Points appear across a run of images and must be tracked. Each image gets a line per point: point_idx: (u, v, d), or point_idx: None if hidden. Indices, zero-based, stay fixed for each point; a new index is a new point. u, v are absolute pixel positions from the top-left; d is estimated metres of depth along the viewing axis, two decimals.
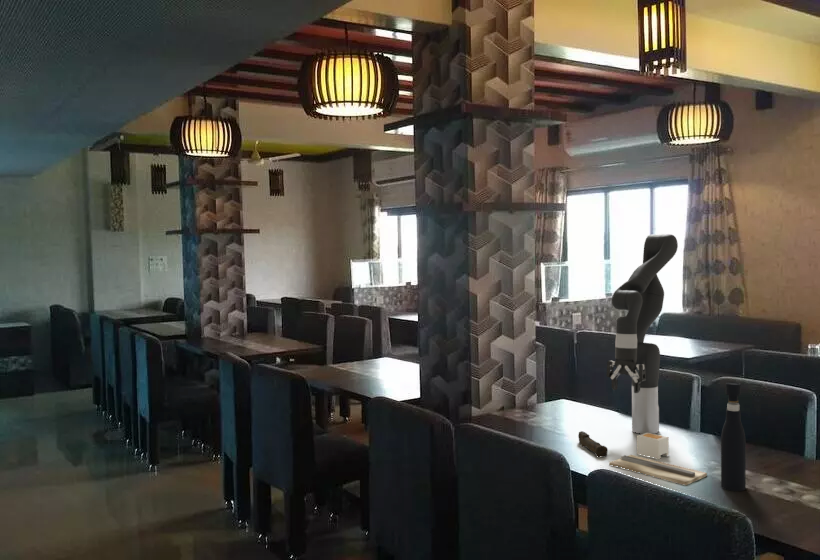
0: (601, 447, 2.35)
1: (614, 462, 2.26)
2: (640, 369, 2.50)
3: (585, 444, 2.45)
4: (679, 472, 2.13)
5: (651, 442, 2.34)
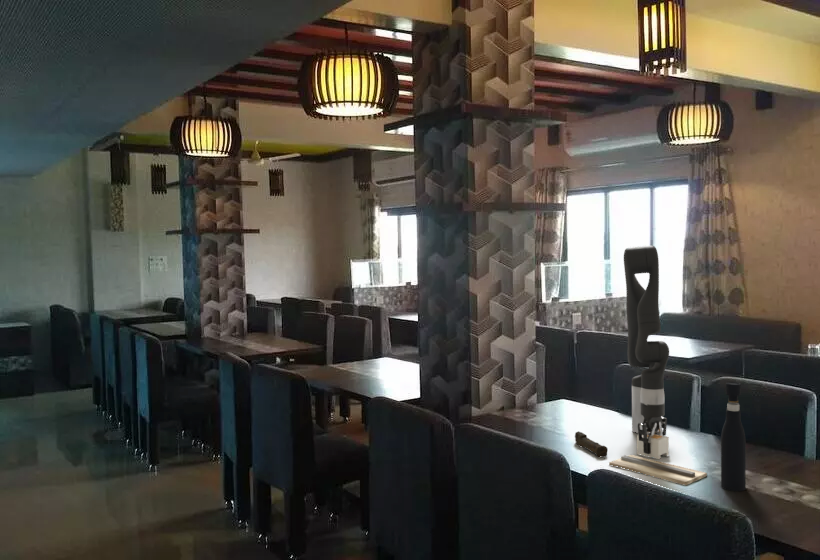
0: (601, 447, 2.35)
1: (614, 462, 2.26)
2: (665, 423, 2.39)
3: (583, 444, 2.45)
4: (679, 472, 2.13)
5: (651, 442, 2.34)
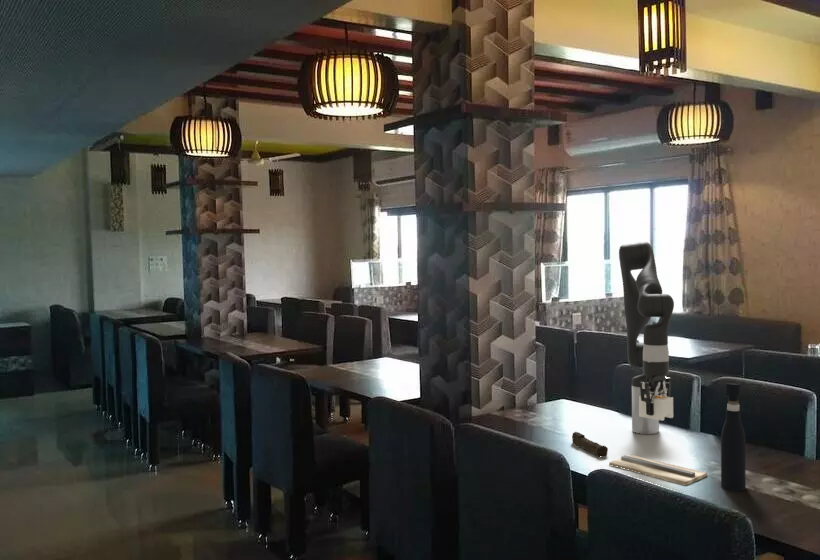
0: (602, 447, 2.35)
1: (614, 462, 2.26)
2: (670, 383, 2.22)
3: (582, 444, 2.45)
4: (679, 472, 2.13)
5: (654, 402, 2.16)
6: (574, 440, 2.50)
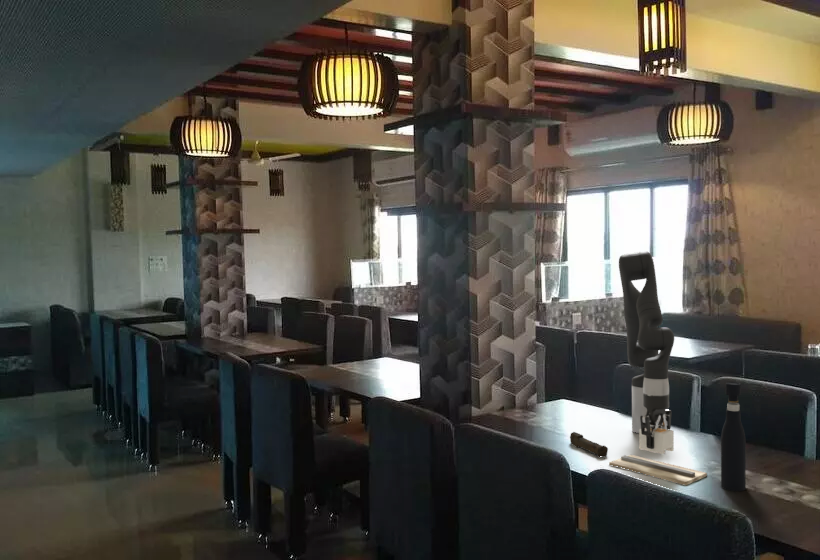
0: (602, 447, 2.35)
1: (614, 462, 2.26)
2: (670, 415, 2.22)
3: (581, 445, 2.45)
4: (679, 472, 2.13)
5: (654, 436, 2.17)
6: (572, 440, 2.50)
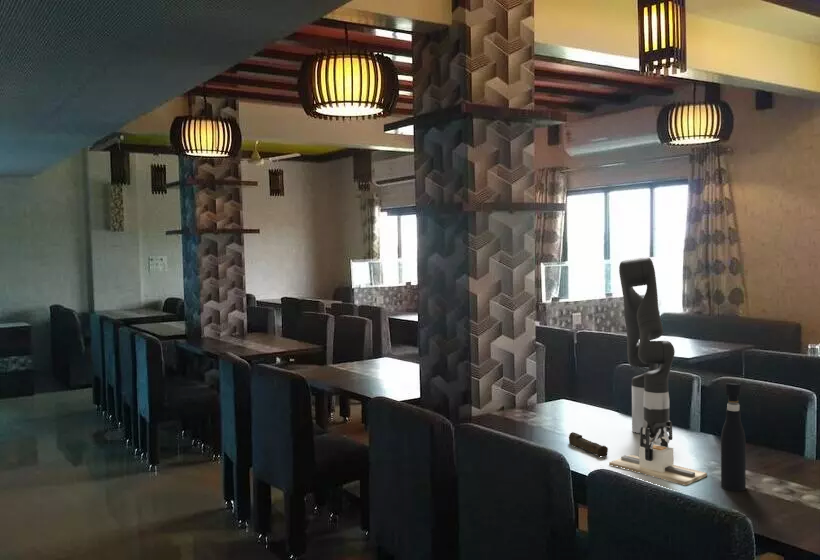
0: (602, 447, 2.35)
1: (614, 462, 2.26)
2: (671, 426, 2.23)
3: (580, 445, 2.44)
4: (679, 472, 2.13)
5: (654, 454, 2.17)
6: (571, 441, 2.50)
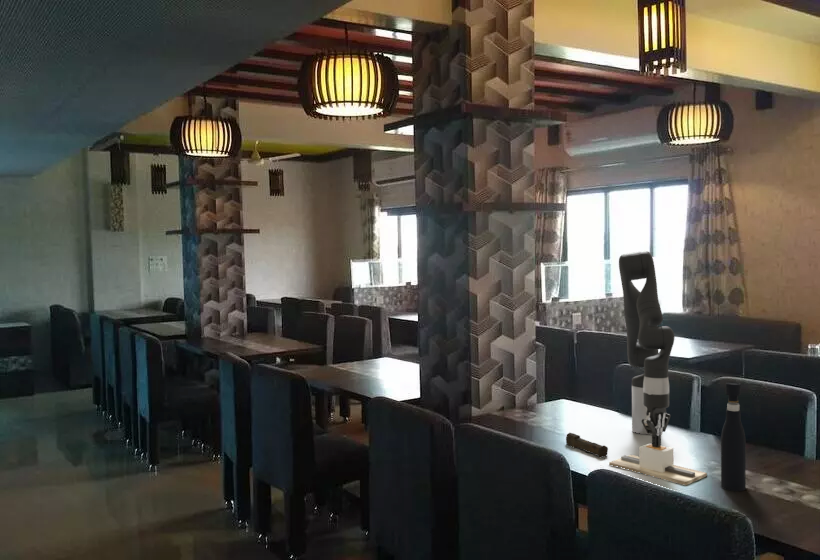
0: (603, 447, 2.35)
1: (614, 462, 2.26)
2: (668, 419, 2.22)
3: (579, 445, 2.44)
4: (679, 472, 2.13)
5: (654, 454, 2.17)
6: (569, 441, 2.49)
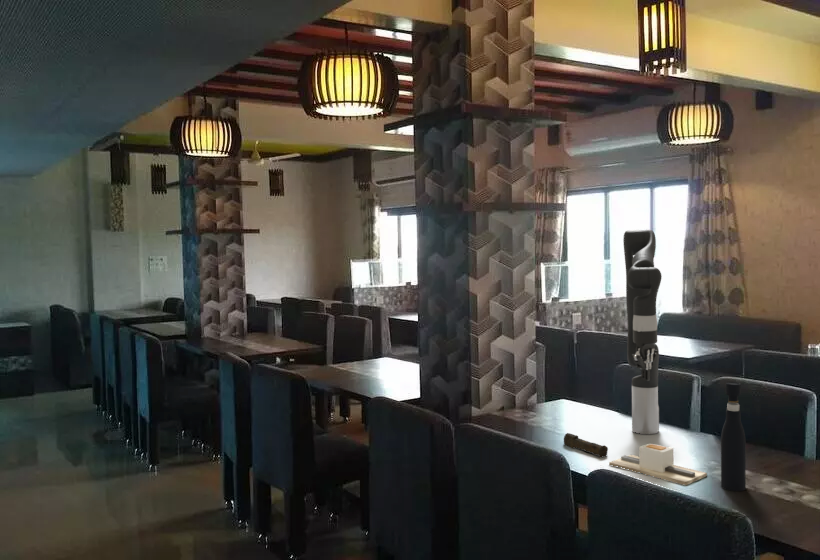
0: (603, 447, 2.35)
1: (614, 462, 2.26)
2: (656, 355, 2.36)
3: (578, 446, 2.44)
4: (679, 472, 2.13)
5: (654, 454, 2.17)
6: (567, 441, 2.49)
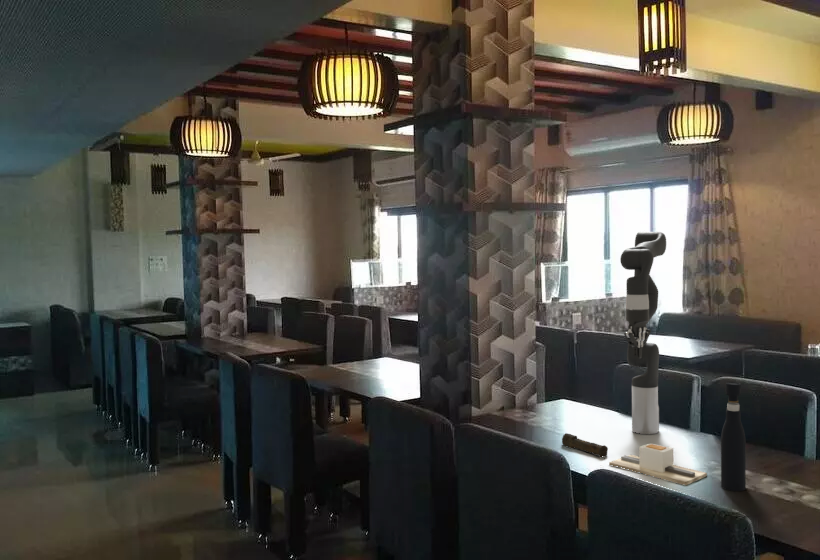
0: (603, 447, 2.35)
1: (614, 462, 2.26)
2: (648, 334, 2.46)
3: (577, 446, 2.43)
4: (679, 472, 2.13)
5: (654, 454, 2.17)
6: (566, 442, 2.48)
